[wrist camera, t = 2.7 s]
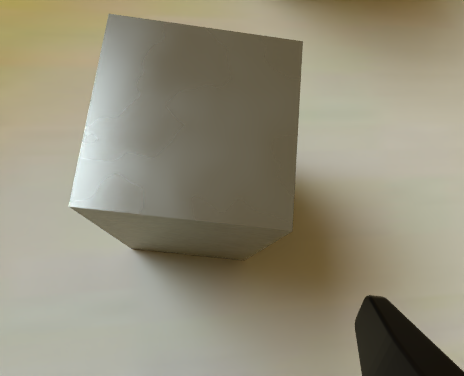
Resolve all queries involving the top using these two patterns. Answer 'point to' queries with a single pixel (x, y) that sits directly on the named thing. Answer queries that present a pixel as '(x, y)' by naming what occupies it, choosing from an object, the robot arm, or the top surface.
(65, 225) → the top surface
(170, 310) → the top surface
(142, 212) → the grey tin
